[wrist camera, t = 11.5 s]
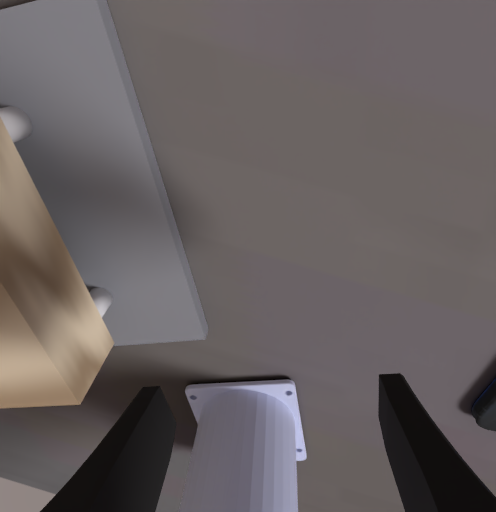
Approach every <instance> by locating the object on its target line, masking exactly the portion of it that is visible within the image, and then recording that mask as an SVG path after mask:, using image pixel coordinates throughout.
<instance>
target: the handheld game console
mask: <svg viewBox="0 0 496 512" xmlns="http://www.w3.org/2000/svg"><path fill="white" fill-rule="evenodd" d="M472 415H473V417H474V418H475V419H476V423H477V424H478V425H479V426H480V427H482V428H484V429H487V430H492V431H496V378H495V380H494V381H493V382H492V383H491V384H490V385H489V387H488V388H487V389H486V390H485V391H484V392H483V394H482V395H481V396H480V397H479V398H478V400H477V401H476V402H475V404H474V405H473V408H472Z"/></svg>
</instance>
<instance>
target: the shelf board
mask: <svg viewBox="0 0 496 512" xmlns="http://www.w3.org/2000/svg"><path fill="white" fill-rule="evenodd" d="M113 345H114V341H113V339H112V337H111V335H110V333H109V331H108V329H107V327H106V325H105V323H104V321H103V319H102V317H101V315H100V313H99V311H98V309H97V307H96V305H95V303H94V301H93V299H92V298H91V296H90V294H89V292H88V290H87V288H86V286H85V284H84V282H83V280H82V278H81V276H80V274H79V272H78V270H77V268H76V266H75V264H74V262H73V260H72V258H71V256H70V254H69V252H68V250H67V248H66V246H65V244H64V242H63V240H62V238H61V236H60V234H59V232H58V230H57V228H56V226H55V224H54V222H53V220H52V218H51V216H50V214H49V212H48V210H47V208H46V206H45V204H44V202H43V200H42V198H41V196H40V194H39V192H38V191H37V189H36V187H35V185H34V183H33V181H32V179H31V177H30V175H29V173H28V171H27V169H26V167H25V165H24V163H23V161H22V159H21V157H20V155H19V153H18V151H17V149H16V147H15V145H14V143H13V141H12V139H11V137H10V135H9V133H8V131H7V129H6V127H5V125H4V123H3V121H2V119H1V117H0V408H19V407H40V406H61V405H80V404H81V402H82V401H83V399H84V397H85V395H86V393H87V392H88V390H89V388H90V386H91V384H92V383H93V381H94V379H95V377H96V375H97V374H98V372H99V370H100V368H101V366H102V365H103V363H104V361H105V359H106V357H107V356H108V354H109V352H110V350H111V348H112V347H113Z"/></svg>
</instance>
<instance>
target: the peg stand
mask: <svg viewBox="0 0 496 512" xmlns="http://www.w3.org/2000/svg"><path fill="white" fill-rule="evenodd" d="M0 117H1V119H2V121H3V123H4V125H5V127H6V129H7V131H8V133H9V135H10V137H11V139H12V141H13V143H14V145H15V147H16V149H17V151H18V153H19V155H20V157H21V159H22V161H23V163H24V165H25V167H26V169H27V171H28V173H29V175H30V177H31V179H32V181H33V183H34V185H35V187H36V189H37V191H38V192H39V194H40V196H41V198H42V200H43V202H44V204H45V206H46V208H47V210H48V212H49V214H50V216H51V218H52V220H53V222H54V224H55V226H56V228H57V230H58V232H59V234H60V236H61V238H62V240H63V242H64V244H65V246H66V248H67V250H68V252H69V254H70V256H71V258H72V260H73V262H74V264H75V266H76V268H77V270H78V272H79V274H80V276H81V278H82V280H83V282H84V284H85V286H86V288H87V290H88V292H89V294H90V296H91V298H92V299H93V301H94V303H95V305H96V307H97V309H98V311H99V313H100V315H101V317H102V319H103V321H104V323H105V325H106V327H107V329H108V331H109V333H110V335H111V337H112V339H113V341H114V345H113V346H123V345H136V344H150V343H163V342H177V341H190V340H204V339H206V336H207V332H208V325H207V322H206V319H205V315H204V312H203V309H202V306H201V302H200V299H199V296H198V293H197V290H196V286H195V283H194V280H193V277H192V273H191V270H190V267H189V264H188V261H187V257H186V254H185V251H184V248H183V245H182V241H181V238H180V235H179V232H178V228H177V225H176V222H175V219H174V216H173V212H172V209H171V206H170V203H169V199H168V196H167V193H166V190H165V187H164V183H163V180H162V177H161V174H160V171H159V167H158V164H157V161H156V158H155V154H154V151H153V148H152V145H151V142H150V138H149V135H148V132H147V129H146V125H145V122H144V119H143V116H142V113H141V109H140V106H139V103H138V100H137V97H136V93H135V90H134V87H133V84H132V80H131V77H130V74H129V71H128V68H127V64H126V61H125V58H124V55H123V51H122V48H121V45H120V42H119V39H118V35H117V32H116V29H115V26H114V23H113V19H112V16H111V13H110V10H109V6H108V3H107V0H36V1H32V2H29V3H25V4H21V5H17V6H13V7H9V8H5V9H1V10H0Z"/></svg>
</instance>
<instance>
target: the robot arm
mask: <svg viewBox="0 0 496 512" xmlns="http://www.w3.org/2000/svg"><path fill="white" fill-rule="evenodd" d="M185 394H186V396H187V399H188V401H189V404H190V406H191V409H192V411H193V414H194V416H195V419H196V421H197V424H198V427H197V432H196V436H195V441H194V445H193V450H192V454H191V459H190V464H189V468H188V473H187V477H186V482H185V486H184V491H183V496H182V500H181V505H180V509H179V512H298V497H297V468H296V461H302V460H305V459H306V449H305V442H304V436H303V430H302V424H301V418H300V412H299V406H298V400H297V394H296V388H295V383H294V382H293V381H292V380H288V379H286V380H267V381H248V382H229V383H211V384H192V385H188V386H187V387H186V389H185ZM379 421H380V425H381V430H382V435H383V439H384V444H385V448H386V452H387V456H388V459H389V462H390V465H391V468H392V471H393V475H394V478H395V481H396V484H397V487H398V490H399V493H400V497H401V500H402V503H403V506H404V509H405V512H496V497H495V496H494V495H493V494H492V492H491V491H490V490H489V489H488V488H487V487H486V486H485V485H484V483H483V482H482V481H481V480H480V479H479V478H478V476H477V475H476V474H475V473H474V472H473V471H472V469H471V468H470V467H469V466H468V465H467V463H466V462H465V461H464V460H463V459H462V457H461V456H460V455H459V454H458V452H457V451H456V450H455V449H454V447H453V446H452V445H451V444H450V442H449V441H448V440H447V438H446V437H445V436H444V434H443V433H442V432H441V431H440V429H439V428H438V427H437V425H436V424H435V423H434V421H433V420H432V419H431V417H430V416H429V414H428V413H427V412H426V410H425V409H424V407H423V406H422V404H421V403H420V401H419V400H418V398H417V397H416V395H415V394H414V392H413V391H412V389H411V388H410V386H409V385H408V383H407V381H406V380H405V378H404V376H403V375H401V374H400V373H399V374H380V375H379ZM175 429H176V421H175V419H174V417H173V415H172V412H171V410H170V408H169V406H168V404H167V401H166V399H165V397H164V395H163V393H162V390H161V388H160V386H154V387H143V388H142V389H141V390H140V392H139V393H138V394H137V395H136V397H135V398H134V399H133V401H132V402H131V403H130V405H129V406H128V407H127V409H126V410H125V411H124V413H123V414H122V415H121V417H120V418H119V419H118V421H117V422H116V423H115V425H114V426H113V427H112V429H111V430H110V431H109V432H108V434H107V435H106V436H105V437H104V439H103V440H102V441H101V443H100V444H99V445H98V446H97V448H96V449H95V450H94V451H93V453H92V454H91V455H90V456H89V457H88V459H87V460H86V461H85V462H84V463H83V465H82V466H81V467H80V468H79V469H78V470H77V472H76V473H75V474H74V475H73V476H72V478H71V479H70V480H69V481H68V482H67V483H66V484H65V485H64V487H63V488H62V489H61V490H60V491H59V492H58V493H57V494H56V495H55V496H54V498H53V499H52V500H51V501H50V502H49V503H48V504H47V505H46V506H45V507H44V508H43V509H42V510H41V511H40V512H155V510H156V507H157V503H158V500H159V496H160V493H161V489H162V486H163V482H164V479H165V475H166V472H167V468H168V465H169V461H170V457H171V453H172V447H173V442H174V435H175Z"/></svg>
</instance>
